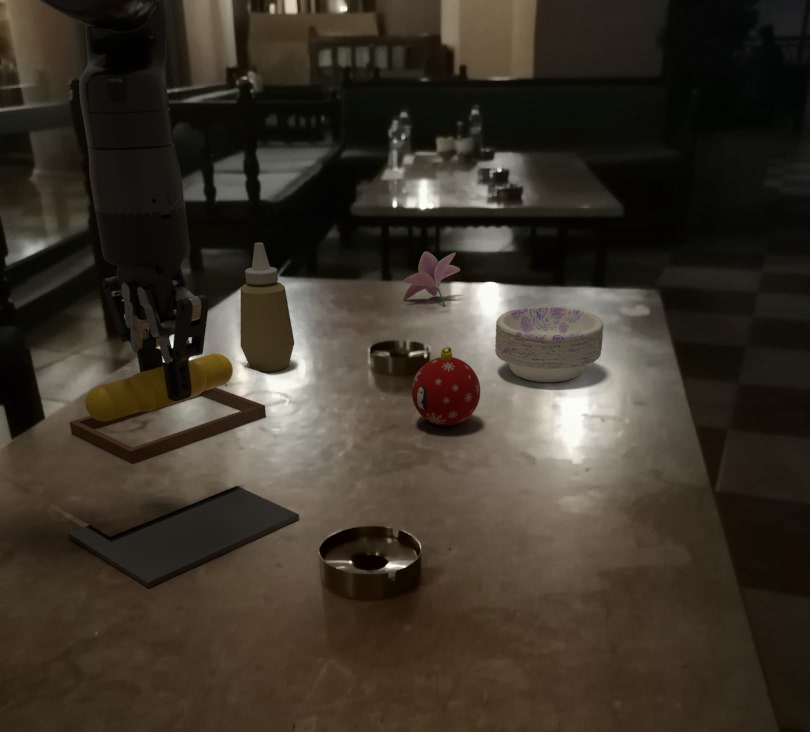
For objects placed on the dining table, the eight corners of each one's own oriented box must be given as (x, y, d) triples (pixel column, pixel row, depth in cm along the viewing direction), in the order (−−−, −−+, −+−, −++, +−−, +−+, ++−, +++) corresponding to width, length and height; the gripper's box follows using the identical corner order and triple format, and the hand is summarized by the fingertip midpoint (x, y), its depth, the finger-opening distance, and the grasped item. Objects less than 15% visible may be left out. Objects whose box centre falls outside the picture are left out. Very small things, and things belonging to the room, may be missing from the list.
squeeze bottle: (299, 358, 140) (291, 237, 131) (292, 375, 133) (283, 249, 124) (247, 358, 140) (235, 238, 132) (237, 375, 133) (224, 249, 125)
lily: (470, 301, 173) (452, 253, 172) (475, 291, 162) (456, 239, 161) (411, 323, 174) (393, 275, 173) (412, 315, 162) (393, 263, 161)
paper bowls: (518, 395, 125) (521, 338, 121) (479, 362, 137) (480, 310, 133) (618, 383, 128) (624, 328, 124) (570, 353, 141) (575, 302, 137)
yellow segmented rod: (107, 426, 80) (94, 386, 79) (86, 428, 83) (73, 390, 82) (248, 381, 90) (238, 345, 89) (225, 384, 93) (215, 350, 92)
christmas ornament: (493, 425, 115) (496, 348, 110) (440, 442, 110) (441, 362, 106) (449, 406, 121) (451, 333, 116) (398, 421, 116) (397, 345, 112)
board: (148, 588, 81) (147, 582, 81) (69, 538, 90) (68, 533, 90) (299, 519, 93) (299, 514, 93) (216, 480, 101) (216, 475, 101)
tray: (133, 471, 104) (130, 451, 103) (72, 440, 112) (69, 421, 111) (266, 423, 116) (265, 405, 115) (203, 399, 124) (201, 382, 123)
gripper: (57, 200, 79) (92, 387, 88) (148, 217, 71) (178, 423, 79) (132, 190, 84) (158, 369, 93) (225, 205, 76) (245, 400, 84)
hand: (167, 392), depth 86 cm, fingers closed on yellow segmented rod, 3 cm apart
